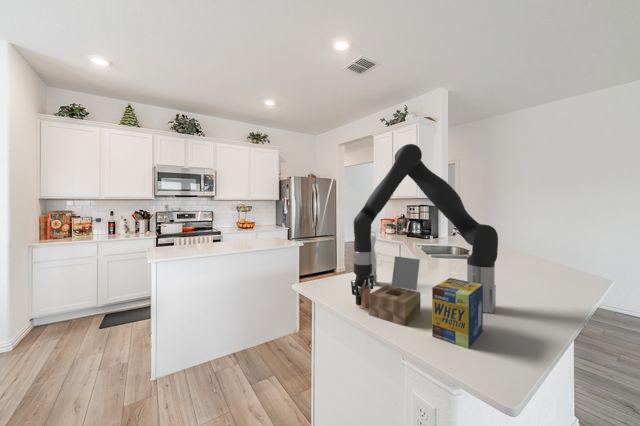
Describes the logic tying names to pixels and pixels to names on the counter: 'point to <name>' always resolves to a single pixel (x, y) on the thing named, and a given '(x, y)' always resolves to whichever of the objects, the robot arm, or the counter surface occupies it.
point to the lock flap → (405, 273)
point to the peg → (364, 297)
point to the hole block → (395, 304)
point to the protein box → (457, 311)
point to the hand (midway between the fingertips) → (363, 302)
